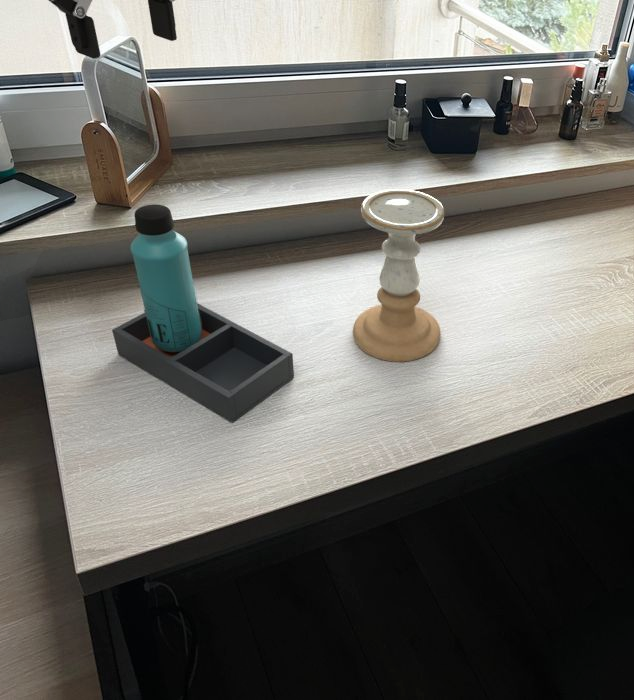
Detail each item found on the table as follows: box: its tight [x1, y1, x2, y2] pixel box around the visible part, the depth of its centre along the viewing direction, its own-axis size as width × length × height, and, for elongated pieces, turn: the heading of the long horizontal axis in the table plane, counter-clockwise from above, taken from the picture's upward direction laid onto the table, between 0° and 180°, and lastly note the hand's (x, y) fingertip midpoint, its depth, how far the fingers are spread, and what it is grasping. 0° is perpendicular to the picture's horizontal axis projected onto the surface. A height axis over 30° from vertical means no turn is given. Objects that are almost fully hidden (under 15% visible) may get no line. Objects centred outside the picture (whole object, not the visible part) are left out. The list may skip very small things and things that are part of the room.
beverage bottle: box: [130, 203, 202, 352], centre depth 88 cm, size 6×7×20 cm
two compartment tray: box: [111, 302, 295, 424], centre depth 92 cm, size 11×20×4 cm, turn 58°
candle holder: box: [352, 188, 445, 363], centre depth 96 cm, size 12×12×20 cm
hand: (128, 46), depth 78 cm, fingers open, 9 cm apart
